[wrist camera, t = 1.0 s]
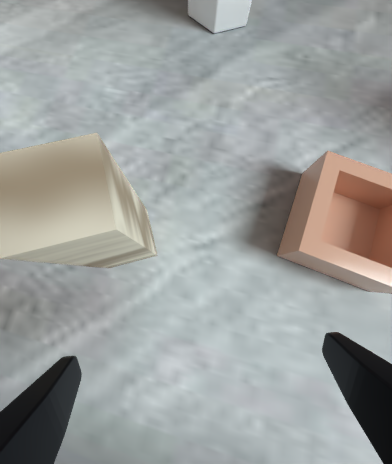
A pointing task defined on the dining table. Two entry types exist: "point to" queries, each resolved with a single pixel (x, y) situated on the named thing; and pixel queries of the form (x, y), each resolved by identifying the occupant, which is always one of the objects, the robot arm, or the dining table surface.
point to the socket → (343, 223)
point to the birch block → (70, 206)
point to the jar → (219, 13)
